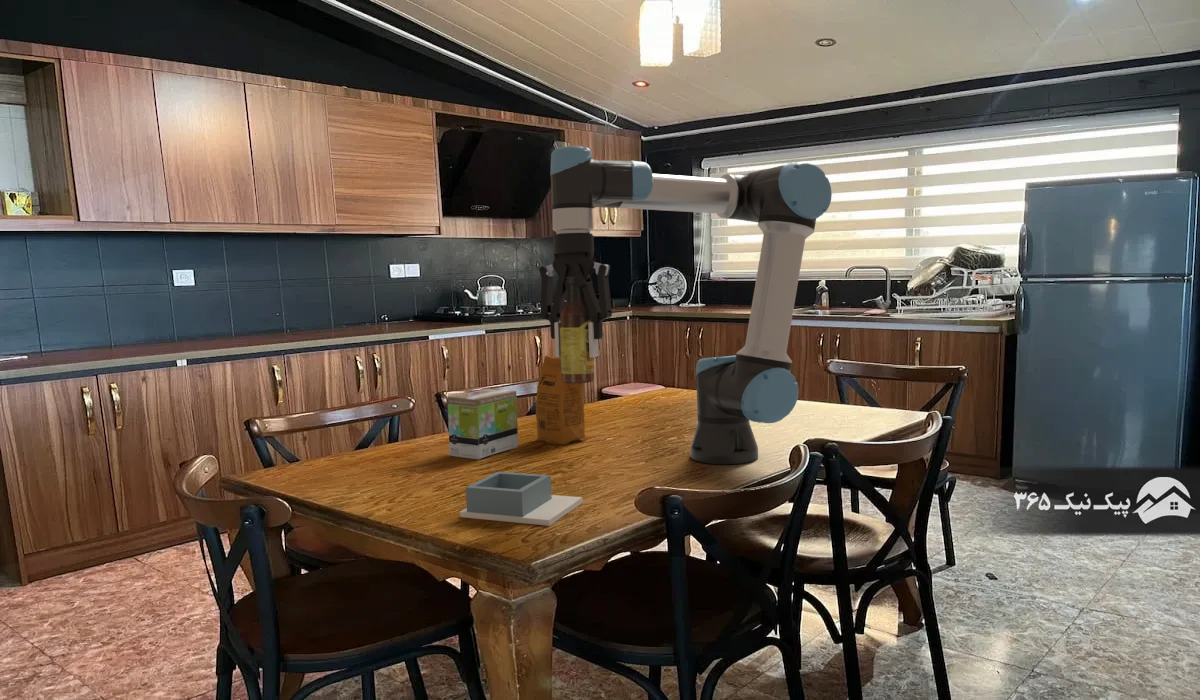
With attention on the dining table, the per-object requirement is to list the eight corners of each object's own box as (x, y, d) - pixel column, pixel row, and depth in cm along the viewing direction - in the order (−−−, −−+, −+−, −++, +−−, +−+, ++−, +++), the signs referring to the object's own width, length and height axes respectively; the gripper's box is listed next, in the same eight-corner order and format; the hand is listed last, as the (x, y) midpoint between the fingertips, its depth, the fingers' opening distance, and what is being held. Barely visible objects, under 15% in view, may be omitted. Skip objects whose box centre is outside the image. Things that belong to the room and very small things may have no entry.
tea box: (480, 460, 186) (477, 398, 185) (448, 456, 192) (445, 396, 190) (520, 447, 199) (517, 388, 198) (489, 444, 204) (485, 387, 203)
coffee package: (561, 434, 213) (557, 352, 211) (590, 440, 203) (587, 355, 201) (531, 440, 207) (526, 356, 204) (559, 447, 197) (555, 359, 195)
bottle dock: (582, 502, 149) (581, 474, 149) (549, 525, 136) (548, 494, 136) (499, 495, 156) (497, 468, 156) (460, 517, 143) (458, 487, 143)
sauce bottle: (594, 384, 147) (591, 276, 145) (560, 385, 147) (557, 277, 145) (594, 379, 153) (592, 276, 151) (562, 380, 153) (559, 277, 151)
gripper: (628, 231, 147) (632, 355, 149) (536, 235, 154) (540, 353, 157) (613, 229, 140) (617, 359, 142) (517, 234, 147) (522, 357, 150)
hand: (577, 356), depth 149 cm, fingers closed on sauce bottle, 6 cm apart
